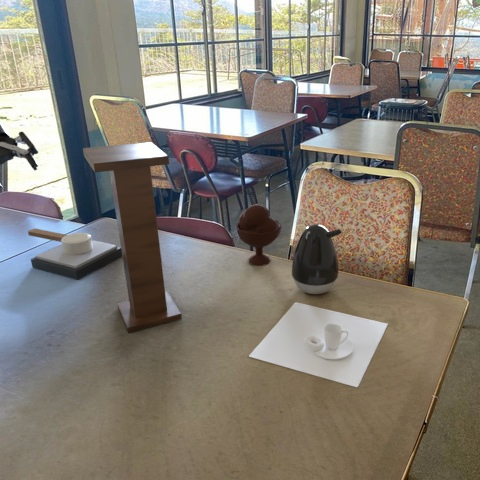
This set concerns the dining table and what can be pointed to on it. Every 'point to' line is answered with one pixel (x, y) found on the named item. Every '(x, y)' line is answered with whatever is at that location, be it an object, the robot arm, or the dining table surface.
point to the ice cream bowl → (258, 231)
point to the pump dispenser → (315, 260)
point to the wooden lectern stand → (137, 231)
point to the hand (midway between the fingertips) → (17, 177)
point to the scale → (76, 260)
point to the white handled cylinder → (67, 240)
